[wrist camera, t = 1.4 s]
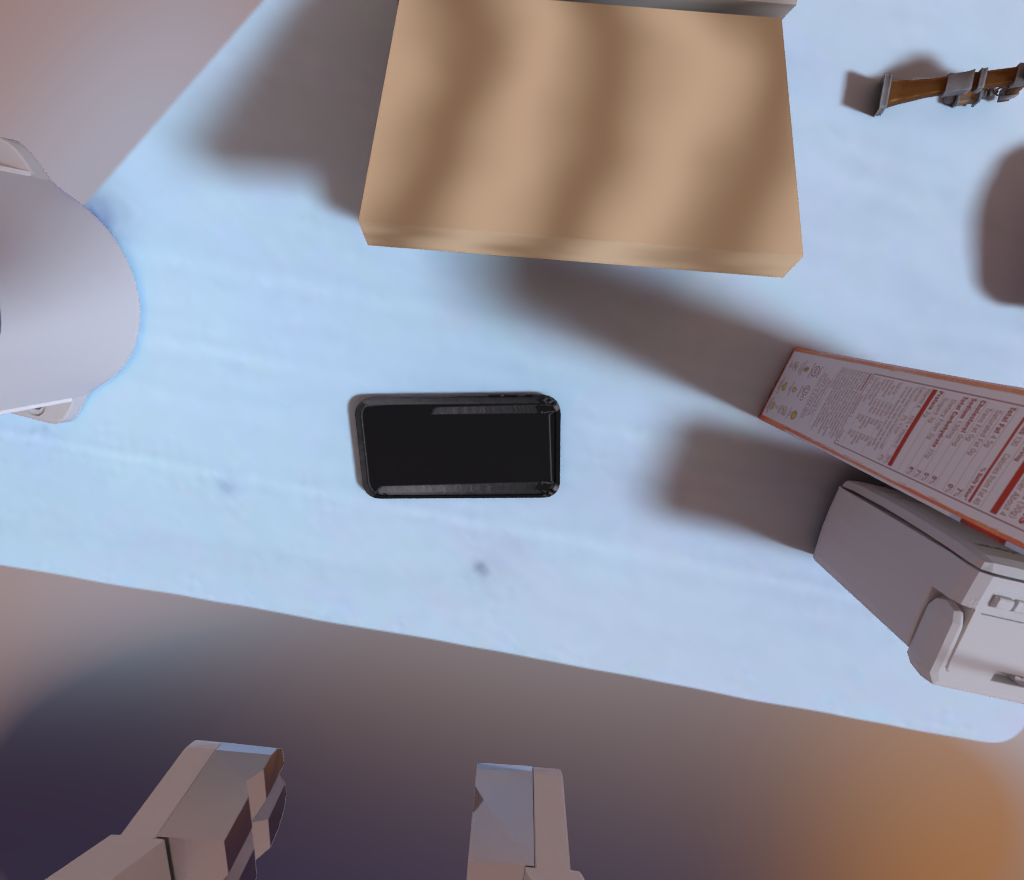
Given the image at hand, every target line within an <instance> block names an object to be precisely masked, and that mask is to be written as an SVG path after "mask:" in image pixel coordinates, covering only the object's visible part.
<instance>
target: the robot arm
mask: <svg viewBox="0 0 1024 880" xmlns="http://www.w3.org/2000/svg"><path fill="white" fill-rule="evenodd" d="M139 327H140V301H139V295H138V290H137V285H136V282H135V278H134V275H133V273H132V270H131V267H130V265H129V263H128V261H127V259H126V257H125V255H124V253H123V251H122V249H121V248H120V246H119V244H118V243H117V242H116V240H115V239H114V237H113V236H112V234H111V233H110V232H109V231H108V229H107V228H106V227H105V226H104V225H103V224H102V222H101V221H100V220H99V219H98V218H97V217H96V216H95V215H94V214H93V213H91V212H90V211H89V210H88V209H87V208H86V207H84V206H83V205H82V204H81V203H79V202H78V201H77V200H75V199H73V198H72V197H71V196H70V195H68V194H67V193H65V192H64V191H63V190H61V189H60V188H59V187H58V186H57V185H56V184H54V182H52V181H51V179H50V178H49V176H48V175H47V173H46V172H45V171H44V169H43V168H42V166H41V165H40V164H39V162H38V161H37V160H36V158H35V157H34V156H33V155H32V154H31V152H30V151H29V150H28V149H27V148H26V147H25V146H24V145H22V144H21V143H19V142H17V141H15V140H11V139H5V138H0V415H1V414H6V413H13V414H17V415H20V416H24V417H28V418H32V419H36V420H40V421H43V422H47V423H53V424H57V423H63V422H69V421H72V420H73V419H75V418H76V417H77V415H78V414H79V412H80V411H81V409H82V407H83V406H84V404H85V402H86V400H87V398H88V395H89V394H90V393H91V392H92V391H93V390H95V389H96V388H97V387H99V386H101V385H102V384H104V383H105V382H107V381H108V380H110V379H111V378H112V377H114V376H115V375H116V374H117V373H118V372H119V371H120V370H121V369H122V368H123V366H124V365H125V364H126V362H127V361H128V359H129V358H130V356H131V354H132V352H133V350H134V347H135V344H136V341H137V338H138V333H139ZM283 765H284V758H283V750H282V749H278V748H269V747H259V746H250V745H240V744H232V743H221V742H211V741H200V740H195V741H194V742H193V743H191V744H190V745H189V746H188V747H186V748H185V749H184V751H183V752H182V753H181V755H180V756H179V757H178V759H177V760H176V761H175V763H174V764H173V765H172V767H171V768H170V770H169V771H168V772H167V773H166V775H165V776H164V777H163V779H162V780H161V781H160V783H159V784H158V785H157V787H156V788H155V790H154V791H153V792H152V794H151V795H150V796H149V798H148V799H147V800H146V802H145V803H144V804H143V806H142V807H141V808H140V810H139V811H138V812H137V814H136V815H135V816H134V818H133V819H132V820H131V822H130V823H129V825H128V826H127V827H126V829H125V830H124V831H123V833H122V834H121V835H110V836H109V837H107V838H106V839H105V840H103V841H101V842H100V843H99V844H97V845H96V846H94V847H93V848H91V849H90V850H88V851H87V852H85V853H84V854H82V855H81V856H79V857H78V858H76V859H75V860H73V861H72V862H70V863H69V864H68V865H66V866H65V867H63V868H62V869H60V870H59V871H57V872H56V873H54V874H53V875H51V876H50V877H49V878H47V879H45V880H256V877H257V873H256V863H255V860H256V859H257V858H258V857H260V856H261V855H262V854H263V853H264V852H265V851H266V850H268V849H269V848H270V847H271V844H272V842H273V840H274V838H275V835H276V833H277V831H278V828H279V825H280V822H281V818H282V814H283V811H284V807H285V799H286V783H285V782H284V781H283V780H282V778H281V777H280V776H279V773H280V771H281V769H282V767H283ZM467 880H584V878H583V876H582V875H581V873H580V872H578V871H571V870H570V860H569V848H568V836H567V824H566V812H565V800H564V788H563V776H562V773H561V771H560V769H549V768H536V767H533V768H532V767H530V766H517V765H502V764H486V763H478V764H477V773H476V784H475V795H474V806H473V814H472V826H471V836H470V847H469V858H468V870H467Z"/></svg>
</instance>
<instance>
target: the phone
mask: <svg viewBox="0 0 1024 880" xmlns="http://www.w3.org/2000/svg"><path fill="white" fill-rule="evenodd" d="M355 418H356V427H357V436H358V445H359V454H360V463H361V472H362V481H363V487H364V489H365V491H366V493H367V494H369V495H370V496H372V497H374V498H379V499H392V498H544V497H550V496H552V495H554V494H555V493H556V492H557V490H558V488H559V485H560V420H561V413H560V407H559V405H558V403H557V401H556V400H555V399H554V398H552V397H550V396H544V395H540V396H533V395H525V396H517V395H504V396H500V395H488V396H457V397H375V398H367V399H366V400H364V401H362V402H361V403H360V404H359V405H358V406H357V408H356V411H355Z"/></svg>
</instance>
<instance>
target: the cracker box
mask: <svg viewBox="0 0 1024 880" xmlns="http://www.w3.org/2000/svg"><path fill="white" fill-rule="evenodd" d="M759 419H761V420H763V421H765V422H767V423H769V424H771V425H773V426H775V427H777V428H779V429H781V430H783V431H785V432H787V433H789V434H791V435H792V436H794V437H796V438H798V439H801V440H803V441H805V442H807V443H809V444H811V445H813V446H815V447H817V448H818V449H820V450H822V451H824V452H826V453H828V454H830V455H832V456H834V457H836V458H838V459H840V460H842V461H844V462H845V463H847V464H849V465H851V466H853V467H855V468H857V469H859V470H861V471H863V472H865V473H867V474H869V475H871V476H873V477H875V478H876V479H878V480H880V481H882V482H884V483H886V484H888V485H890V486H892V487H894V488H896V489H898V490H900V491H902V492H904V493H905V494H907V495H909V496H911V497H913V498H915V499H917V500H919V501H921V502H922V503H924V504H926V505H928V506H930V507H932V508H934V509H936V510H938V511H939V512H941V513H943V514H945V515H947V516H949V517H951V518H953V519H955V520H957V521H958V522H960V523H962V524H964V525H966V526H968V527H970V528H972V529H974V530H976V531H977V532H979V533H981V534H983V535H985V536H987V537H989V538H991V539H993V540H994V541H996V542H998V543H1000V544H1002V545H1004V546H1006V547H1009V548H1011V549H1013V550H1015V551H1017V552H1018V553H1020V554H1022V555H1024V388H1021V387H1014V386H1008V385H1002V384H996V383H990V382H984V381H979V380H973V379H967V378H962V377H956V376H951V375H945V374H940V373H935V372H929V371H924V370H918V369H913V368H908V367H902V366H897V365H891V364H886V363H880V362H875V361H869V360H863V359H858V358H852V357H847V356H841V355H836V354H830V353H822V352H816V351H812V350H808V349H802V348H795V349H794V351H793V353H792V354H791V356H790V358H789V360H788V362H787V364H786V366H785V368H784V370H783V372H782V374H781V376H780V377H779V379H778V381H777V383H776V385H775V387H774V389H773V391H772V393H771V395H770V397H769V399H768V401H767V403H766V404H765V407H764V409H763V411H762V412H761V414H760V416H759Z"/></svg>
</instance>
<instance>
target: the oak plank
mask: <svg viewBox="0 0 1024 880" xmlns="http://www.w3.org/2000/svg"><path fill="white" fill-rule="evenodd" d="M358 222H359V224H360V226H361V229H362V231H363V234H364V236H365V239H366V241H367V244H368V245H373V246H386V247H398V248H411V249H424V250H437V251H449V252H462V253H475V254H488V255H500V256H513V257H526V258H539V259H551V260H564V261H577V262H590V263H603V264H615V265H628V266H641V267H654V268H666V269H679V270H692V271H705V272H717V273H730V274H743V275H756V276H768V277H781V278H783V277H784V276H785V275H786V274H787V273H788V272H789V271H790V270H791V269H792V268H793V267H794V266H795V265H796V263H797V262H798V261H799V260H800V259H801V258H802V257H803V247H802V236H801V225H800V214H799V203H798V192H797V181H796V170H795V159H794V149H793V138H792V127H791V116H790V105H789V94H788V83H787V72H786V61H785V50H784V40H783V29H782V18H772V17H759V16H747V15H734V14H721V13H709V12H696V11H683V10H670V9H658V8H645V7H632V6H620V5H607V4H594V3H582V2H569V1H556V0H399V4H398V10H397V15H396V21H395V26H394V31H393V37H392V42H391V48H390V53H389V59H388V64H387V69H386V75H385V80H384V86H383V91H382V96H381V102H380V107H379V113H378V118H377V123H376V129H375V134H374V140H373V145H372V150H371V156H370V161H369V167H368V172H367V178H366V183H365V188H364V194H363V199H362V205H361V210H360V215H359V221H358Z"/></svg>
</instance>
